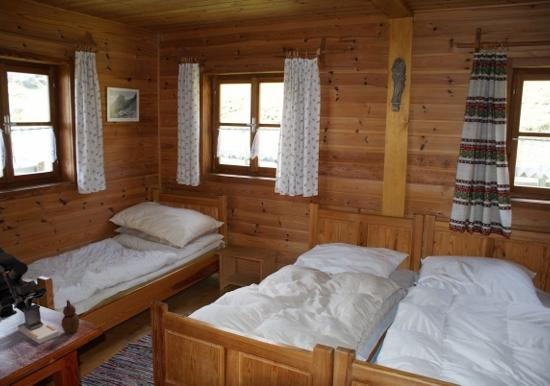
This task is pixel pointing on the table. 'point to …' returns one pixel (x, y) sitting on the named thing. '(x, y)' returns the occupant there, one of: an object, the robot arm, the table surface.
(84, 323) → the table surface
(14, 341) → the table surface
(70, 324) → the wooden figurine
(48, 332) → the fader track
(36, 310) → the fader knob
